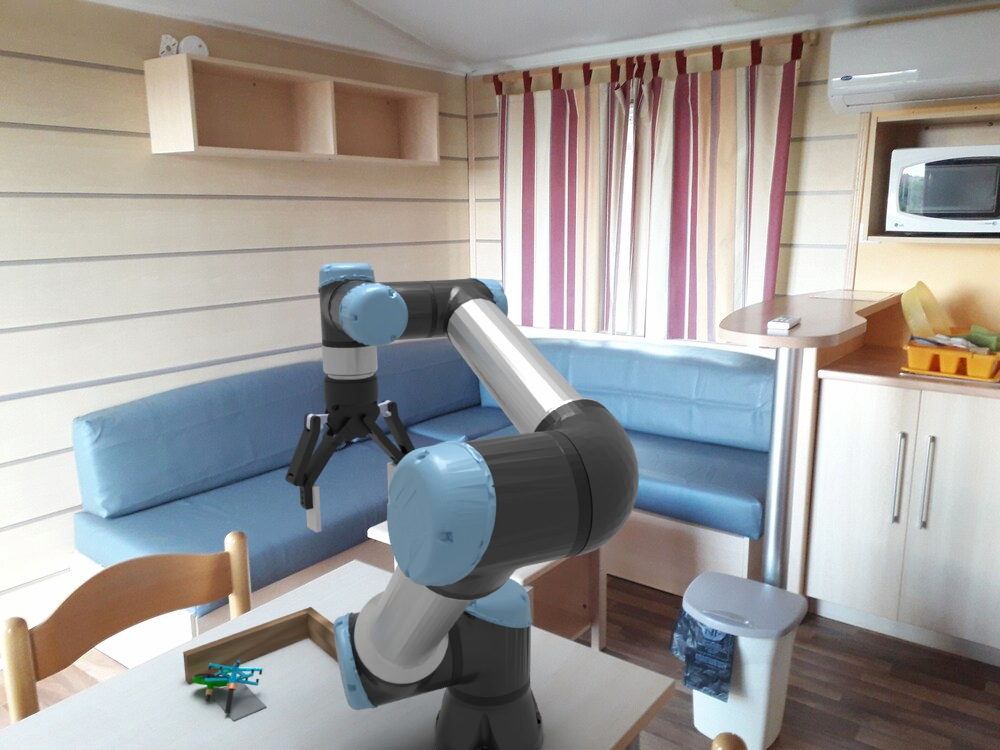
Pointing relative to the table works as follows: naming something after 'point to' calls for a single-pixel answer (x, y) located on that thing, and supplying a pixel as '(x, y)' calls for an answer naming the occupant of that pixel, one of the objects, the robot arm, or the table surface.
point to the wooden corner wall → (261, 642)
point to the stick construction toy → (226, 680)
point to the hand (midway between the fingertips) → (356, 517)
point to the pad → (239, 701)
